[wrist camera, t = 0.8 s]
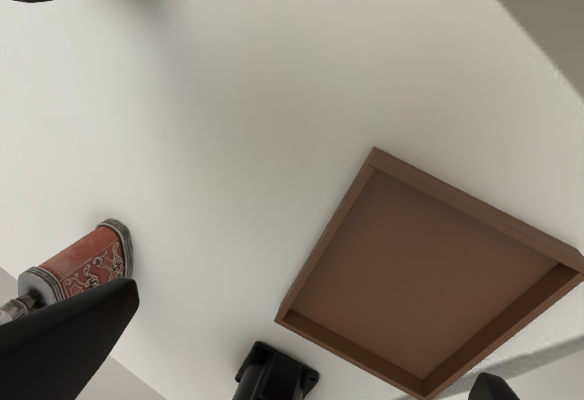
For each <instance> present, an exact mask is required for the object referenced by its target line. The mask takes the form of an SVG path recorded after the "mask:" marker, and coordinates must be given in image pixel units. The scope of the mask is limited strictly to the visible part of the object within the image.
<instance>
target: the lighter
mask: <svg viewBox="0 0 584 400" xmlns="http://www.w3.org/2000/svg"><path fill="white" fill-rule="evenodd" d="M132 268H133V251H132V244H131V238H130V233H129V231H128V229H127V228H126V226H125V225H123V224H122V223H121V222H119V221H117V220H115V219H107V220H105V221H104V222H102V223H100V224H99V225H97V227H96V229H95V230H94V231H92V232H91V233H89V234H88V235H86V236H84V237H83V238H81V239H80V240H78V241H77V242H75V243H74V244H72V245H71V246H69V247H67V248H66V249H64V250H63V251H61V252H60V253H58V254H57V255H55V256H53V257H52V258H50V259H49V260H47V261H46V262H44V263H43V264H41V265H40V266H38V267H31V268H30V269H28V270H26V271H25V272H23V273H22V274H20V275H19V277H18V295H19V297H18V298H16V299H12V300H11V301H9V302H8V303H6V304H5V305H3V306H2V307H0V325H2V324H4V323H7V322H9V321H12V320H14V319H17V318H19V317H22V316H24V315H26V314H29V313H31V312H34V311H36V310H39V309H41V308H44V307H46V306H49V305H51V304H54V303H56V302H59V301H61V300H63V299H66V298H68V297H71V296H73V295H76V294H78V293H81V292H83V291H86V290H88V289H91V288H93V287H95V286H98V285H100V284H103V283H105V282H108V281H110V280H113V279H115V278H118V277H127V278H130V279H131V276H132Z"/></svg>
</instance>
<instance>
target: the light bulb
mask: <svg viewBox="0 0 584 400" xmlns="http://www.w3.org/2000/svg"><path fill="white" fill-rule="evenodd" d="M14 1H20V2H26V3H36V2H46V1H52V0H14Z"/></svg>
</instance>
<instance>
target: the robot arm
mask: <svg viewBox="0 0 584 400" xmlns="http://www.w3.org/2000/svg"><path fill="white" fill-rule="evenodd" d="M139 302H140V301H139V295H138V289H137V284H136V281H135V280H133V279H130V278H127V277H118V278H115V279H113V280H110V281H108V282H105V283H103V284H100V285H98V286H95V287H93V288H91V289H88V290H86V291H83V292H81V293H78V294H76V295H73V296H71V297H68V298H66V299H63V300H61V301H59V302H56V303H54V304H51V305H49V306H46V307H44V308H41V309H39V310H36V311H34V312H31V313H29V314H26V315H24V316H22V317H19V318H17V319H14V320H12V321H9V322H7V323H4V324H2V325H0V400H75V399H76V397H77V396H78V395H79V393H80V392H81V391H82V389H83V388H84V387H85V385H86V384H87V383H88V382H89V380H90V379H91V378H92V376H93V375H94V374H95V373H96V371H97V370H98V369H99V367H100V366H101V365H102V363H103V362H104V361H105V359H106V358H107V356H108V355H109V353H110V352H111V350H112V349H113V347H114V346H115V344H116V342H117V341H118V339H119V338H120V336H121V335H122V333H123V331H124V330H125V328H126V327H127V325H128V324H129V322H130V320H131V319H132V317H133V316H134V314H135V313H136V311H137V309H138V307H139ZM235 380H236V381H237V382H238V383H239V385H238V388H237V390H236V392H235V395H234V397H233V399H232V400H303V399H304V398H305V397H306V395H307V394H308V393H309V392H310V391H311V390H312V388H313V387H314V386H315V385H316V384H317V383H318V381H319V374H318V373H317V372H315V371H313V370H311V369H309V368H308V367H306V366H304V365H302V364H300V363H298V362H297V361H295V360H293V359H291V358H289V357H287V356H286V355H284V354H282V353H280V352H278V351H276V350H274V349H273V348H271V347H269V346H267V345H265V344H263V343H262V342H255V344H254V345H253V347H252V349H251V350H250V352H249V354H248V356H247V357H246V359H245V361H244V362H243V364H242V366H241V368H240V369H239V371H238V373H237V375H236V377H235ZM468 400H520V399H519V398H518V396H517V395H516V394H515V393H514V392H513V390H512V389H511V388H510V387H509V385H508V384H507V383H506V382H505V380H504V379H502V378H501V377H499V376H496V375H492V374H488V373H480V374H479V376H478V377H477V379H476V381H475V383H474V385H473V387H472V389H471V391H470V393H469V397H468Z"/></svg>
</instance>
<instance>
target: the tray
mask: <svg viewBox="0 0 584 400" xmlns="http://www.w3.org/2000/svg"><path fill="white" fill-rule="evenodd" d="M582 281H584V257H583V256H582V254H581V253H580V252H579V251H578V250H577V249H575V248H573V247H571V246H569V245H567V244H565V243H563V242H561V241H559V240H557V239H555V238H553V237H552V236H550V235H548V234H546V233H544V232H542V231H540V230H538V229H536V228H534V227H532V226H530V225H528V224H526V223H524V222H522V221H520V220H518V219H516V218H514V217H512V216H510V215H508V214H506V213H504V212H502V211H500V210H498V209H496V208H494V207H492V206H490V205H488V204H487V203H485V202H483V201H481V200H479V199H477V198H475V197H473V196H471V195H469V194H467V193H465V192H463V191H461V190H459V189H457V188H455V187H453V186H451V185H449V184H447V183H445V182H443V181H441V180H439V179H437V178H435V177H433V176H431V175H429V174H427V173H425V172H423V171H421V170H420V169H418V168H416V167H414V166H412V165H410V164H408V163H406V162H404V161H402V160H400V159H398V158H396V157H394V156H392V155H390V154H388V153H386V152H384V151H382V150H380V149H378V148H376V147H373V149H372V151H371V153H370V154H369V156H368V158H367V159H366V161H365V163H364V164H363V166H362V168H361V169H360V171H359V173H358V174H357V176H356V178H355V180H354V181H353V183H352V185H351V186H350V188H349V190H348V191H347V193H346V195H345V196H344V198H343V200H342V202H341V203H340V205H339V207H338V208H337V210H336V212H335V213H334V215H333V217H332V218H331V220H330V222H329V224H328V225H327V227H326V229H325V230H324V232H323V234H322V235H321V237H320V239H319V240H318V242H317V244H316V246H315V247H314V249H313V251H312V252H311V254H310V256H309V257H308V259H307V261H306V262H305V264H304V266H303V268H302V269H301V271H300V273H299V274H298V276H297V278H296V279H295V281H294V283H293V284H292V286H291V288H290V290H289V291H288V293H287V295H286V296H285V298H284V300H283V301H282V303H281V305H280V308H279V310H278V313H277V315H276V317H275V320H274V322H276V323H278V324H279V325H281V326H283V327H285V328H287V329H289V330H291V331H292V332H294V333H296V334H298V335H300V336H302V337H304V338H305V339H307V340H309V341H311V342H313V343H315V344H317V345H318V346H320V347H322V348H324V349H326V350H328V351H330V352H331V353H333V354H335V355H337V356H339V357H341V358H343V359H344V360H346V361H348V362H350V363H352V364H354V365H355V366H357V367H359V368H361V369H363V370H365V371H367V372H368V373H370V374H372V375H374V376H376V377H378V378H380V379H381V380H383V381H385V382H387V383H389V384H391V385H393V386H394V387H396V388H398V389H400V390H402V391H404V392H406V393H407V394H409V395H411V396H413V397H415V398H417V399H418V400H432V399H434V398H435V397H436V396H437V395H439V394H440V393H441V392H443V391H444V390H445V389H446V388H448V387H449V386H450V385H451V384H453V383H454V382H455V381H457V380H458V379H459V378H460V377H462V376H463V375H464V374H465V373H467V372H468V371H469V370H471V369H472V368H473V367H474V366H476V365H477V364H478V363H479V362H481V361H482V360H483V359H484V358H486V357H487V356H488V355H490V354H491V353H492V352H493V351H495V350H496V349H497V348H498V347H500V346H501V345H502V344H504V343H505V342H506V341H507V340H509V339H510V338H511V337H512V336H514V335H515V334H516V333H518V332H519V331H520V330H521V329H523V328H524V327H525V326H526V325H528V324H529V323H530V322H532V321H533V320H534V319H535V318H537V317H538V316H539V315H540V314H542V313H543V312H544V311H546V310H547V309H548V308H549V307H551V306H552V305H553V304H554V303H556V302H557V301H558V300H560V299H561V298H562V297H563V296H565V295H566V294H567V293H568V292H570V291H571V290H572V289H574V288H575V287H576V286H577V285H579V284H580V283H581V282H582Z"/></svg>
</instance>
